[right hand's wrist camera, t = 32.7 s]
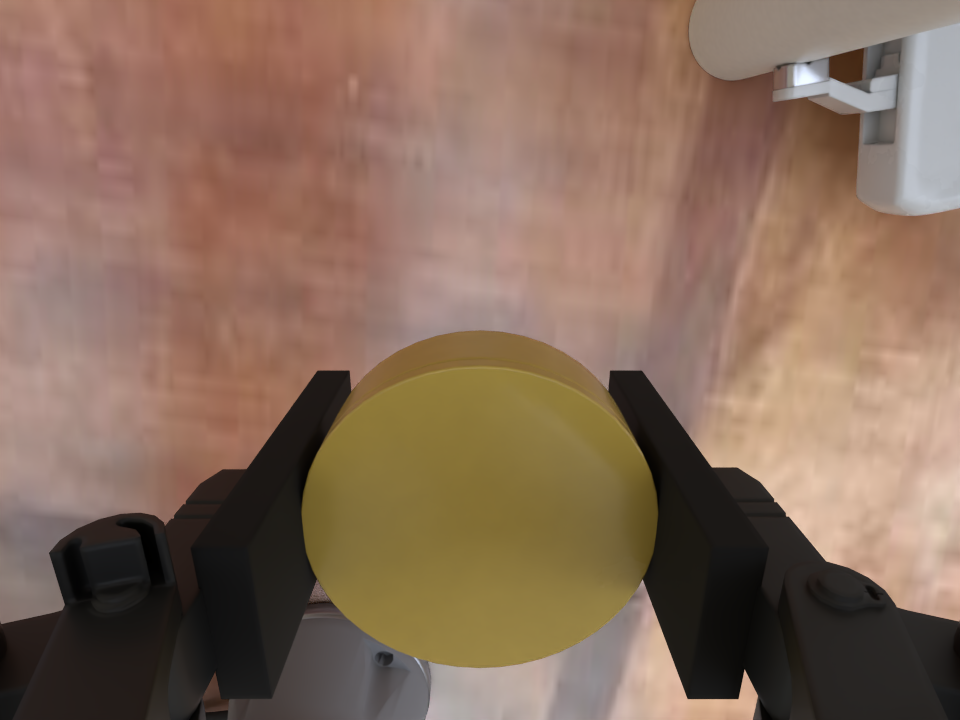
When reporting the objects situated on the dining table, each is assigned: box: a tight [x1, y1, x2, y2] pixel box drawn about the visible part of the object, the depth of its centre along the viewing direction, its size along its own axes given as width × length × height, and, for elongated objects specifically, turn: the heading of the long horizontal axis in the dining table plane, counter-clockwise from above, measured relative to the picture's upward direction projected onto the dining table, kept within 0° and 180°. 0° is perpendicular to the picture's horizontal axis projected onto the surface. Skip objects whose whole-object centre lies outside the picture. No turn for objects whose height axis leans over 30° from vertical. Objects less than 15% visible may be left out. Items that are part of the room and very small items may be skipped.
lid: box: [301, 331, 658, 668], centre depth 11 cm, size 6×6×2 cm
